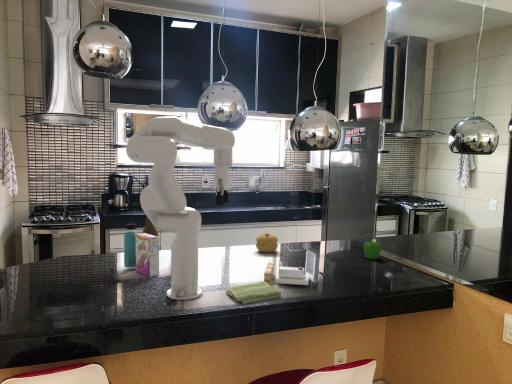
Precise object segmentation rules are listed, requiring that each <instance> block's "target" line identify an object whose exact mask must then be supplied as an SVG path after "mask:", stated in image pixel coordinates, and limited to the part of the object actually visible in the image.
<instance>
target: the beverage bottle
mask: <svg viewBox="0 0 512 384" xmlns="http://www.w3.org/2000/svg"><path fill="white" fill-rule="evenodd" d="M125 228H126V230H129V231H126V232H125V233H124V234H123V245H124V247H123V265H124V267H125V268H128V269H129V268H131V269H132V268H136V251H135V234H140V233H139V232H138V231H136V230H137V224H136V223H127V224H126V227H125Z"/></svg>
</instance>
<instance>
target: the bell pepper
mask: <svg viewBox="0 0 512 384" xmlns="http://www.w3.org/2000/svg"><path fill="white" fill-rule="evenodd" d="M363 250H364V256H365V258H367V259H370V260H377V259H378V258H379V257H380V255H381V252H382V245H381V242H380V243H379V242H376V241H375V239H371V241H366V242H364V245H363Z"/></svg>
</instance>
